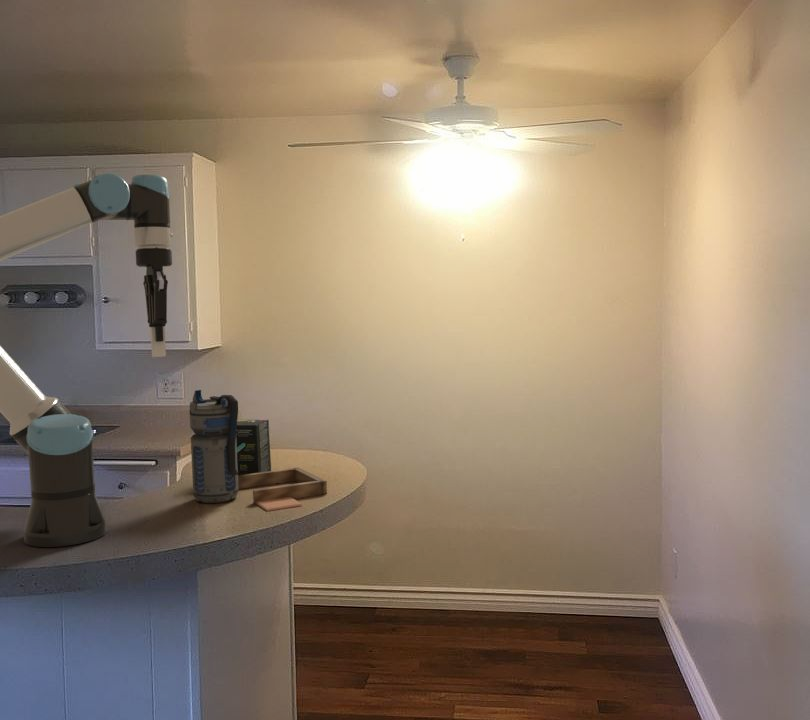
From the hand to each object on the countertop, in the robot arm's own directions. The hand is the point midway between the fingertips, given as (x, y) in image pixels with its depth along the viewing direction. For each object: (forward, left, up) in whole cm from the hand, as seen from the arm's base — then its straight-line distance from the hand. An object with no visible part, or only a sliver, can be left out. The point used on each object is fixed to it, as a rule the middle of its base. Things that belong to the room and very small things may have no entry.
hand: (158, 356), depth 182 cm
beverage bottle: (+12, 0, -34) cm, 36 cm away
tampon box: (+24, +18, -34) cm, 45 cm away
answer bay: (+26, 0, -34) cm, 42 cm away
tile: (+22, -12, -34) cm, 42 cm away
